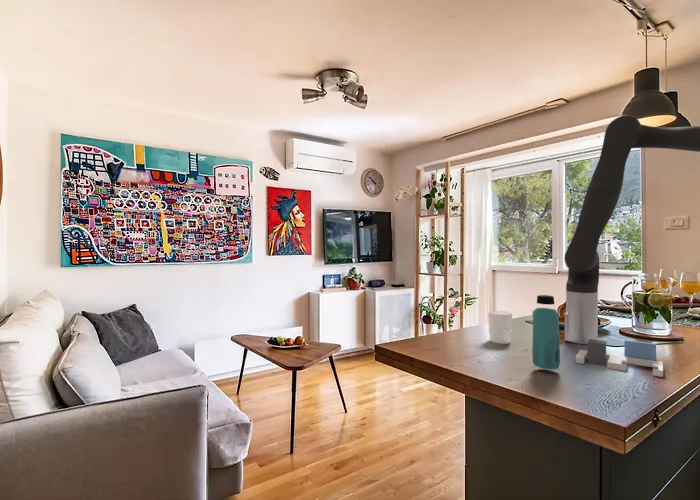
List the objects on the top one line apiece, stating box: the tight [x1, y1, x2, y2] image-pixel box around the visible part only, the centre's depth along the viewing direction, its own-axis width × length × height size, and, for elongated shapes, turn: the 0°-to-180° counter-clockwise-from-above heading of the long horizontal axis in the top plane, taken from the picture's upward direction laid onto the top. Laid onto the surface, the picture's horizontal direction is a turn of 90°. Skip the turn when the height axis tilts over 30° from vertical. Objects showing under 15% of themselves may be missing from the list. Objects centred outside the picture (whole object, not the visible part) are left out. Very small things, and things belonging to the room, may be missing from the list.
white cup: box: [487, 310, 513, 345], centre depth 129 cm, size 8×8×10 cm
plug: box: [587, 339, 607, 366], centre depth 106 cm, size 4×4×6 cm
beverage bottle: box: [531, 294, 561, 370], centre depth 98 cm, size 6×7×20 cm
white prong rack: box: [574, 339, 664, 378], centre depth 103 cm, size 19×10×6 cm, turn 51°
